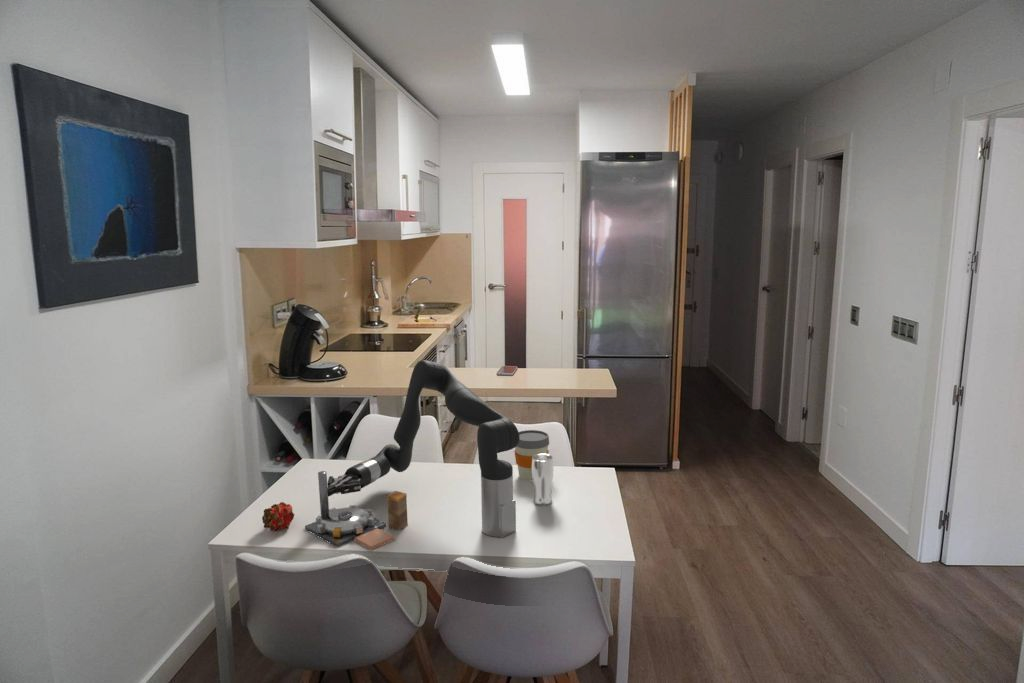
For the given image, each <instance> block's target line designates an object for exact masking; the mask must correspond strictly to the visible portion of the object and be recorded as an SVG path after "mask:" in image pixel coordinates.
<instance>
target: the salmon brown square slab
mask: <svg viewBox="0 0 1024 683" xmlns="http://www.w3.org/2000/svg"><path fill="white" fill-rule="evenodd" d="M354 541H355V542H356V543H358V544H360V545H361V544H362V546H363V545H364V546H363V547H365V548H367V549H369V550H374V549H376V548H378V547H381V546H383V545H385V544H388V543H390V542H392V541H395V536H394V535H392V534H391V533H388V532H387V531H385V530H382V529H378V528H376V529H374V530H372V531H369V532H367V533H364V534H362V535H360V536H357V537H355V540H354Z"/></svg>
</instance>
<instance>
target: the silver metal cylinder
mask: <svg viewBox="0 0 1024 683" xmlns="http://www.w3.org/2000/svg"><path fill="white" fill-rule="evenodd" d="M553 458H554V457H553V456H552V455H550V454H549V453H548V454H537V455H534V456H533V457H532V478H533V481H532V482H533V489H534V496H533V503H534V504H535V505H538V506H548V505H551V504H552V503H553V499H552V498H553V497H552V484H553V479H554V470H555V469H554V459H553Z"/></svg>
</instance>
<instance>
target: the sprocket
mask: <svg viewBox="0 0 1024 683" xmlns="http://www.w3.org/2000/svg"><path fill="white" fill-rule="evenodd" d="M327 474H328V473H327V471H325V470H321V471H319V472H317V478H318V479H317V480H318V493H319V503H320V505H319V506H320V515H317V516H316V517H315V522H316V525H317V532H319V533H320V534H322V533H325V532H326V533H329V534H333V537H341V535H343V534H350V533H355V534H359V533H362V532H363V529H364V528H365V527H367V526H373V524H374V523H375V522H374V518H375V516H374V515H373V510H372V509H371V508H369V507H367V508H364V509H363V508H360V507H357V505H356V504H355V505H353V504H351V505H349V506H348V507H341V508H340V507H339V508H336V507H332V508H330V506H329V505H330V504H329V497H328V488H327V487H328V484H327V483H328V477H327Z"/></svg>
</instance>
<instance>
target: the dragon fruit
mask: <svg viewBox="0 0 1024 683" xmlns="http://www.w3.org/2000/svg"><path fill="white" fill-rule="evenodd" d="M294 518H295V513H294V512H293V507H292V505H291V504H290V503H287V504H286V503H285V502H283V501H281V502H280V503H278V504H276V503H275V504H273V505H271V506H270V507H268V508H265V509H264V510H263V515H262V517H261V519H262V520H261V521H262V524H263V528H264V529H269V531H271V532H276V531H277V532H278V531H280V529H282V530H288V529H289V526H290V524H291V523H292V522H293V520H294Z"/></svg>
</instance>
